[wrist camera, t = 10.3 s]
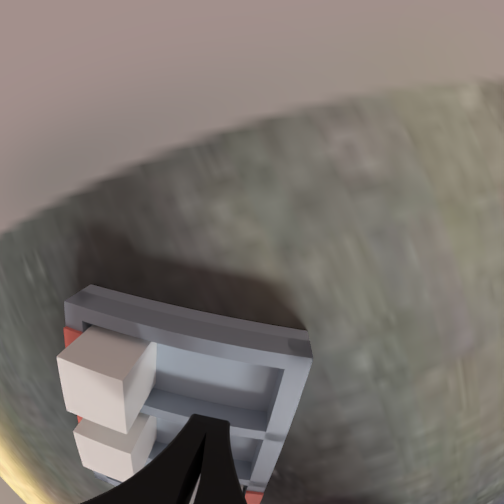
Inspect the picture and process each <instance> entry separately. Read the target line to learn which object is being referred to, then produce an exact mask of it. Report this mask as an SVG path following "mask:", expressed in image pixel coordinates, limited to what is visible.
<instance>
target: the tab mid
mask: <svg viewBox="0 0 504 504" xmlns="http://www.w3.org/2000/svg"><path fill="white" fill-rule="evenodd" d="M73 433H74V437H75V440H76V444H77V447H78V451H79V454H80V457H81V460H82V463H83V466H84V467H86V468H89V469H91V470H93V471H96V472H98V473H101V474H103V475H106V476H108V477H111V478H113V479H116V480H119V481H121V482H124V481H126V480H127V479H129V478H130V477H132V476H133V475H134V474H136V473H137V472H138V471H140V470H141V469H142V468H144V466H145V463H146V461H147V459H148V456H149V454H150V452H151V450H152V447H153V445H154V443H155V440H156V438H157V417H154V416H151V415H147V414H144V413H141V412H139V414H138V415H137V417H136V419H135V421H134V423H133V424H132V426H131V428H130V430H129V432H128V433H127V434H124V433H121V432H119V431H116V430H113V429H110V428H108V427H105V426H102V425H100V424H97V423H95V422H92V421H90V420H87V419H85V418H83V419H82V420H81V421H80V423H79V424H78V425H77V427H76V428H75V429H74V431H73Z"/></svg>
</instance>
